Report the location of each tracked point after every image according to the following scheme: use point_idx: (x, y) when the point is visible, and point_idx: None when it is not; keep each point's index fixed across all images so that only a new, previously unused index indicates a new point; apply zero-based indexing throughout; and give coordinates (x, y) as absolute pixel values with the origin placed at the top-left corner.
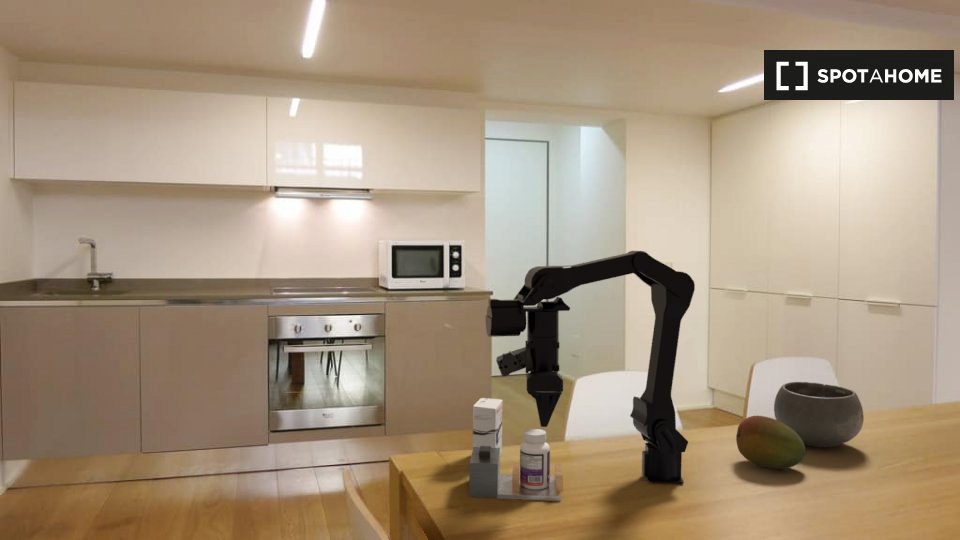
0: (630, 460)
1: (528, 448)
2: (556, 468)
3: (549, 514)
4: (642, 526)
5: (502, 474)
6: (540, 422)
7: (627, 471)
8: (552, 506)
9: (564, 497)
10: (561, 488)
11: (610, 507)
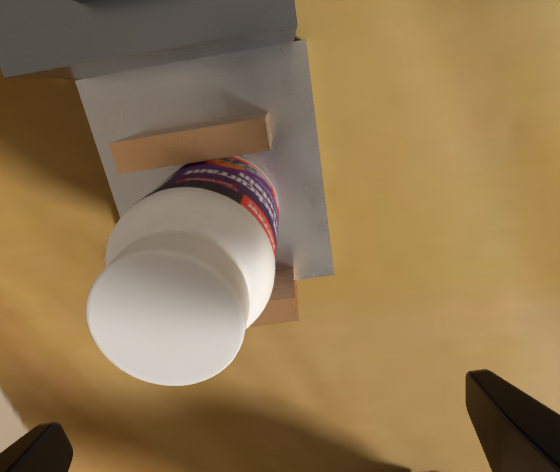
0: None
1: (106, 254)
2: None
3: (40, 271)
4: (76, 464)
5: (304, 53)
6: (4, 452)
7: (448, 441)
8: None
9: None
10: None
11: (159, 408)
